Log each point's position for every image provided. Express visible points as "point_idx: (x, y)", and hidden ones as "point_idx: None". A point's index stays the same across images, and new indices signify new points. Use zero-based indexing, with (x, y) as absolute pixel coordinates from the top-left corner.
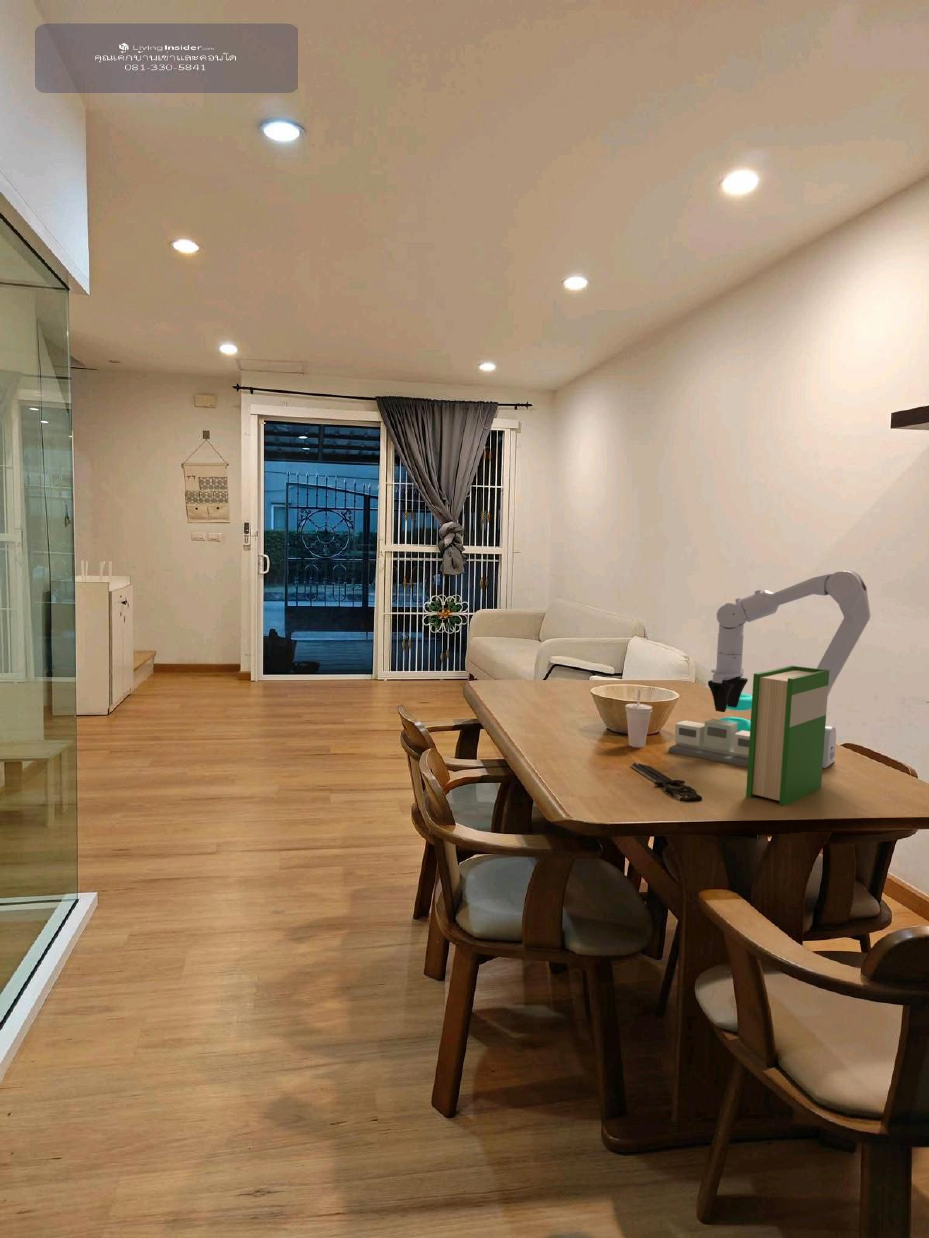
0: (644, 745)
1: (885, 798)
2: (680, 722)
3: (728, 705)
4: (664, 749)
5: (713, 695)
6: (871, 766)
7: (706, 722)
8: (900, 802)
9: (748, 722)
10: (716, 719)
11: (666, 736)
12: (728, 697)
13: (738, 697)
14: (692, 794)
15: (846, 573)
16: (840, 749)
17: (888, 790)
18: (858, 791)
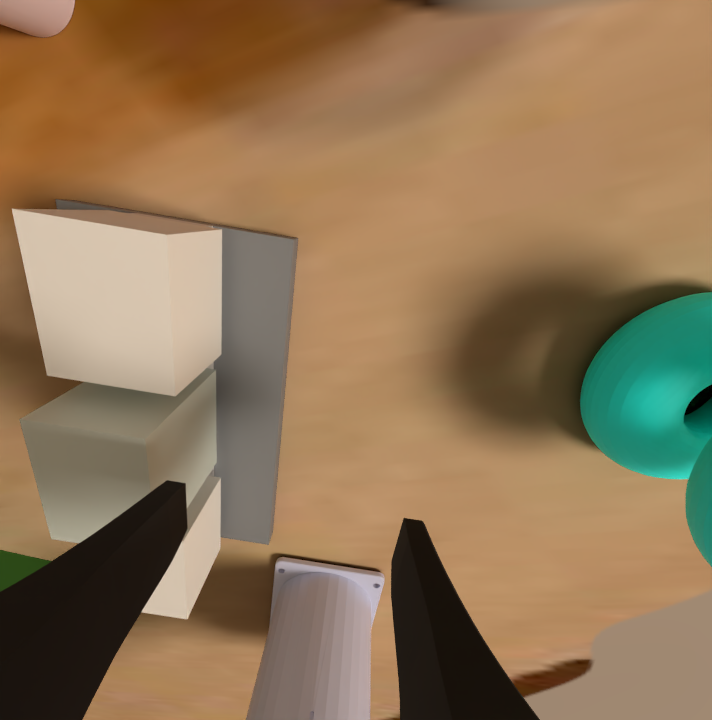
0: (34, 35)
1: (124, 697)
2: (72, 229)
3: (402, 528)
4: (90, 166)
5: (26, 582)
6: (372, 693)
7: (24, 426)
8: (121, 710)
9: (674, 470)
10: (142, 462)
11: (377, 72)
12: (412, 587)
13: (397, 656)
14: None
15: None
16: (529, 655)
17: (187, 703)
18: (130, 670)
